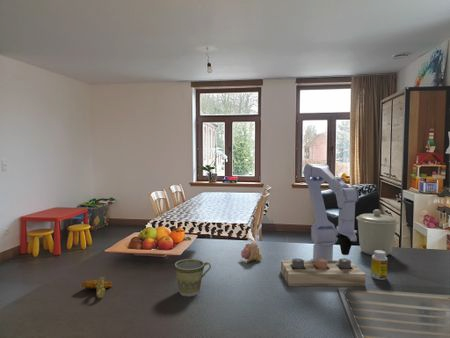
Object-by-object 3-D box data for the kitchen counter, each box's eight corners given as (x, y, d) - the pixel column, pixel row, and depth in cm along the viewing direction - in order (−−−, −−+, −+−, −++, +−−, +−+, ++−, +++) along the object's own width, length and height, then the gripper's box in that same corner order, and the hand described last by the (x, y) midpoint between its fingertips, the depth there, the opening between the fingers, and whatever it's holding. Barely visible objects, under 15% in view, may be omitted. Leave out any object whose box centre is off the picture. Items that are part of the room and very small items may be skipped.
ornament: (79, 272, 117) (88, 277, 104) (109, 273, 122) (121, 278, 110) (76, 292, 115) (84, 300, 103) (106, 292, 120) (118, 299, 108)
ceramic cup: (180, 301, 106) (180, 271, 105) (170, 289, 115) (170, 261, 114) (216, 293, 112) (217, 264, 111) (204, 282, 121) (205, 255, 120)
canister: (394, 262, 144) (397, 215, 143) (351, 254, 154) (353, 210, 152) (398, 251, 160) (400, 208, 158) (358, 245, 169) (360, 204, 168)
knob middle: (313, 267, 128) (314, 258, 127) (324, 267, 128) (325, 258, 127) (317, 271, 123) (317, 262, 123) (328, 271, 123) (329, 262, 123)
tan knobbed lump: (260, 258, 149) (269, 247, 143) (251, 274, 142) (260, 264, 136) (244, 246, 151) (251, 235, 144) (234, 261, 144) (242, 251, 137)
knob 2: (336, 267, 128) (336, 258, 128) (347, 267, 128) (348, 258, 128) (340, 271, 124) (341, 262, 123) (352, 271, 124) (352, 262, 123)
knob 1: (290, 267, 127) (291, 258, 127) (302, 267, 127) (302, 258, 127) (293, 271, 123) (293, 262, 123) (305, 271, 123) (305, 262, 123)
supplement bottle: (381, 281, 124) (382, 254, 123) (367, 276, 128) (369, 250, 127) (389, 278, 127) (390, 252, 126) (376, 273, 131) (377, 248, 131)
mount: (280, 271, 132) (281, 260, 132) (349, 271, 133) (349, 260, 133) (288, 286, 118) (289, 274, 118) (365, 286, 119) (365, 274, 119)
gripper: (365, 223, 117) (363, 261, 118) (349, 215, 132) (347, 248, 133) (346, 223, 117) (344, 261, 118) (331, 215, 132) (330, 248, 132)
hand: (345, 254), depth 125 cm, fingers closed
